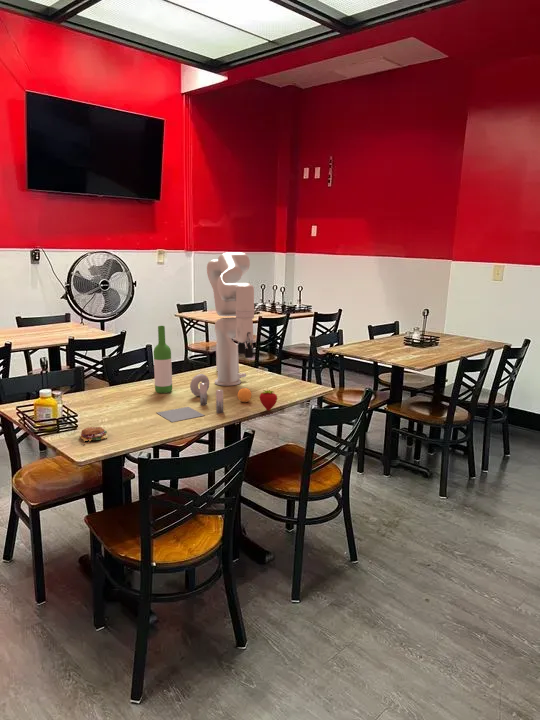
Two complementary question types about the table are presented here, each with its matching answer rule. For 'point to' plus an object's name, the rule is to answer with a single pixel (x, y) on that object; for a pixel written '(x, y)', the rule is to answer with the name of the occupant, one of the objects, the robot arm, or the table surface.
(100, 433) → the hamburger
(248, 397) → the ball
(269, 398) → the strawberry
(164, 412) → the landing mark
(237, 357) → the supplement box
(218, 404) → the post
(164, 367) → the wine bottle
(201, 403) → the post
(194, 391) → the donut
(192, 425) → the table surface
